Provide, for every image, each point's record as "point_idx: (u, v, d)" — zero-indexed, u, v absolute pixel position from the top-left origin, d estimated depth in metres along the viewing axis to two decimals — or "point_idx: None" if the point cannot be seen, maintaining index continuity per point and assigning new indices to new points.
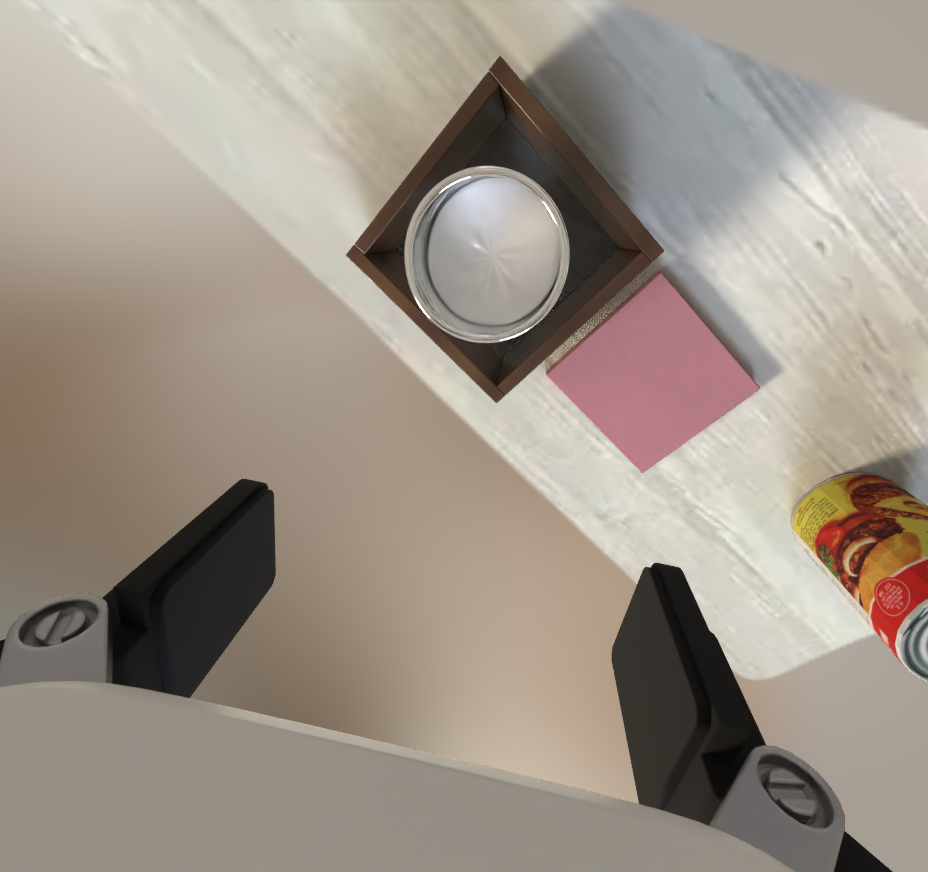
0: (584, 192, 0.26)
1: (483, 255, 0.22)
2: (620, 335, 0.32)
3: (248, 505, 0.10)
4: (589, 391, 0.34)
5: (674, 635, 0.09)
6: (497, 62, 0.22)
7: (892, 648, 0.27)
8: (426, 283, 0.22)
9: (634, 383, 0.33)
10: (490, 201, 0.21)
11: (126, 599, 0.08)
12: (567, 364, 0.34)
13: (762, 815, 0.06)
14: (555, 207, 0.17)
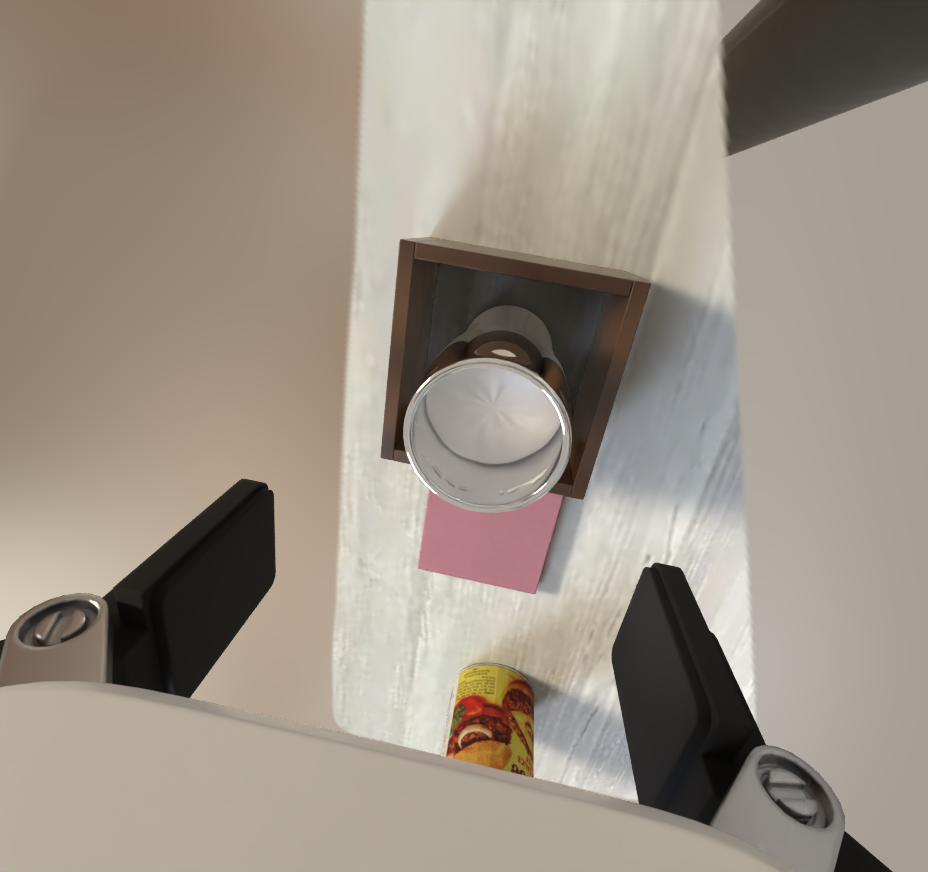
0: (588, 405, 0.27)
1: (489, 399, 0.21)
2: None
3: (248, 505, 0.10)
4: None
5: (674, 635, 0.09)
6: (644, 284, 0.22)
7: None
8: None
9: (477, 518, 0.36)
10: None
11: (126, 599, 0.08)
12: None
13: (762, 815, 0.06)
14: (562, 470, 0.18)
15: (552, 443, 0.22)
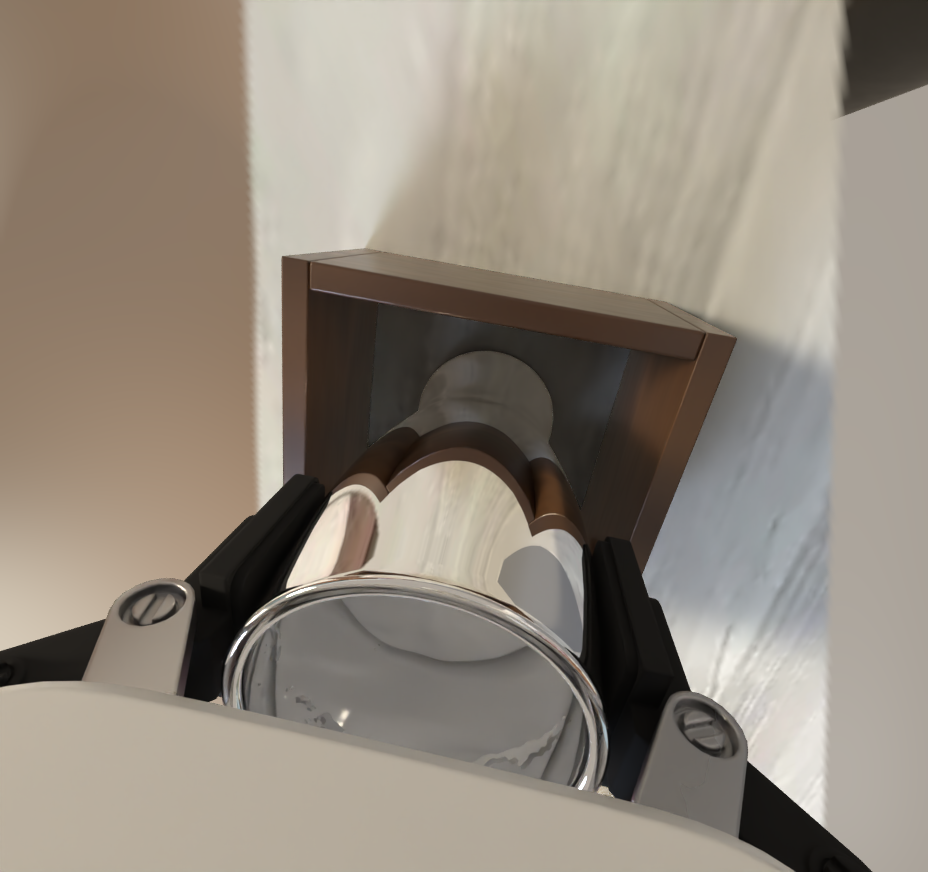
0: (612, 516, 0.17)
1: None
2: None
3: (305, 498, 0.11)
4: None
5: (615, 598, 0.09)
6: (725, 340, 0.12)
7: None
8: None
9: None
10: None
11: (209, 584, 0.08)
12: None
13: (682, 757, 0.07)
14: None
15: None
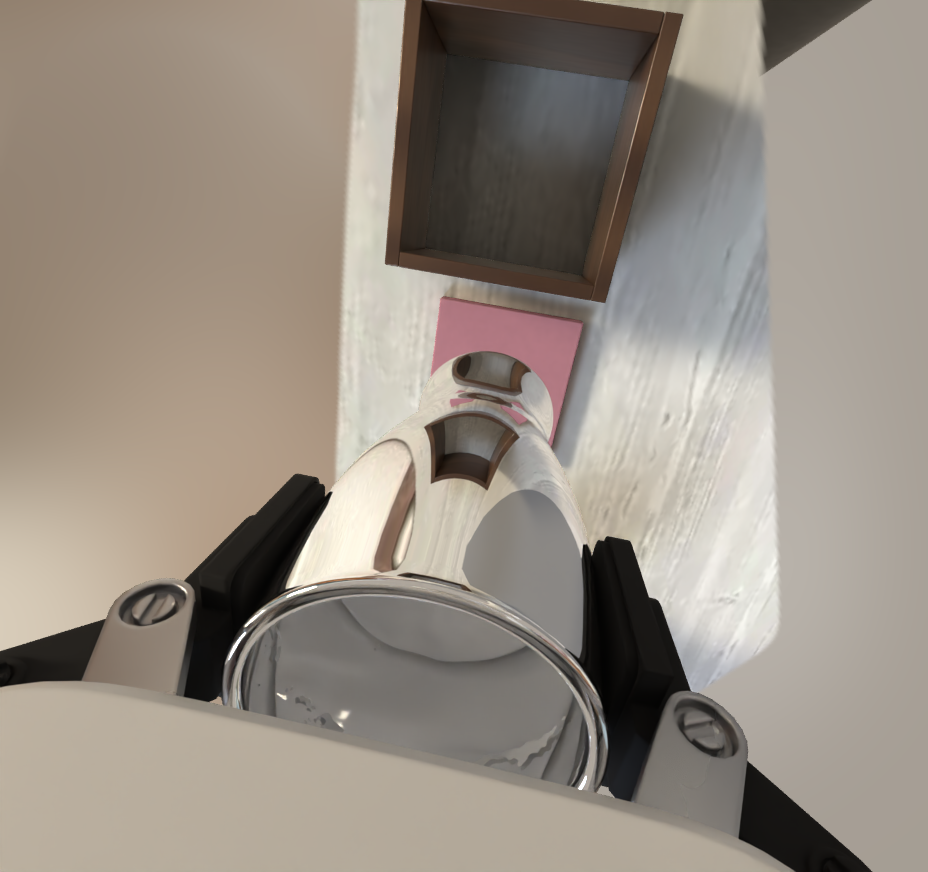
0: (609, 201, 0.25)
1: None
2: (515, 332, 0.33)
3: (305, 498, 0.11)
4: (454, 344, 0.33)
5: (615, 598, 0.09)
6: (676, 15, 0.20)
7: None
8: None
9: None
10: None
11: (209, 583, 0.08)
12: (462, 308, 0.32)
13: (682, 757, 0.07)
14: None
15: None
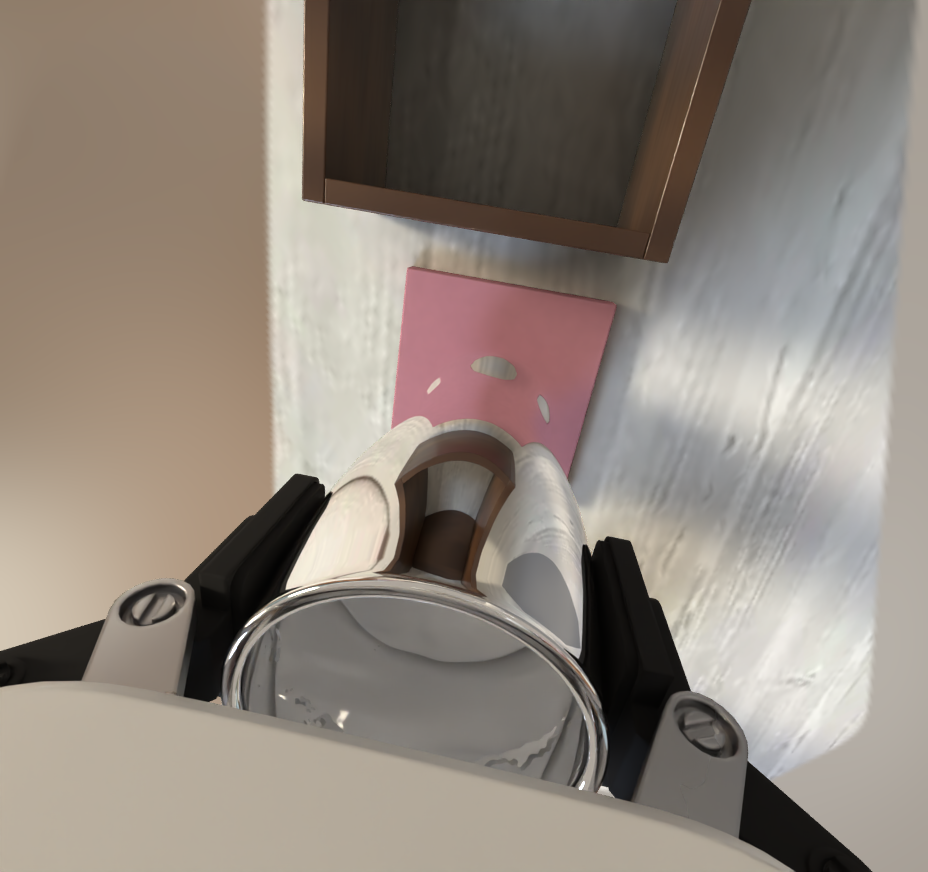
0: (676, 92, 0.15)
1: None
2: (516, 318, 0.22)
3: (305, 498, 0.11)
4: (428, 336, 0.23)
5: (615, 598, 0.09)
6: None
7: None
8: None
9: None
10: None
11: (209, 583, 0.08)
12: (439, 283, 0.22)
13: (682, 757, 0.07)
14: None
15: None
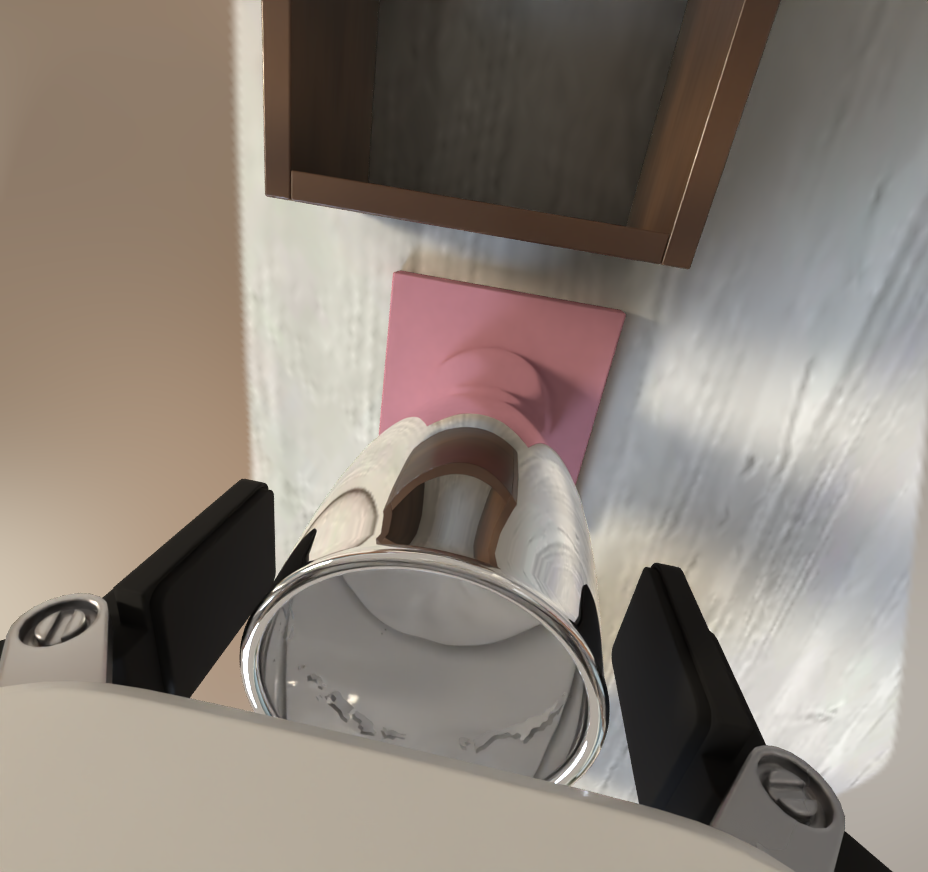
0: (699, 70, 0.13)
1: None
2: (514, 328, 0.20)
3: (248, 505, 0.10)
4: (417, 347, 0.21)
5: (674, 635, 0.09)
6: None
7: None
8: None
9: None
10: None
11: (126, 599, 0.08)
12: (428, 289, 0.20)
13: (762, 815, 0.06)
14: (586, 768, 0.08)
15: None
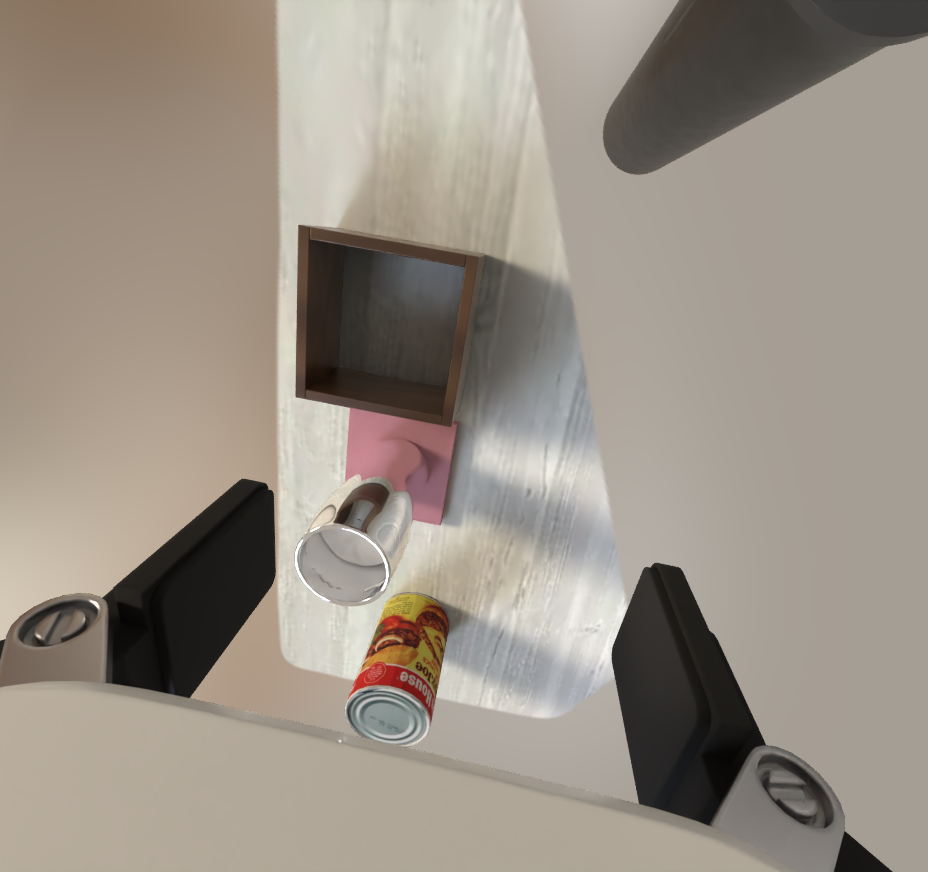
0: None
1: None
2: (407, 430, 0.43)
3: (248, 505, 0.10)
4: (362, 437, 0.44)
5: (674, 635, 0.09)
6: (474, 257, 0.31)
7: (349, 695, 0.42)
8: None
9: None
10: None
11: (126, 599, 0.08)
12: (366, 412, 0.43)
13: (762, 815, 0.06)
14: (387, 584, 0.31)
15: None
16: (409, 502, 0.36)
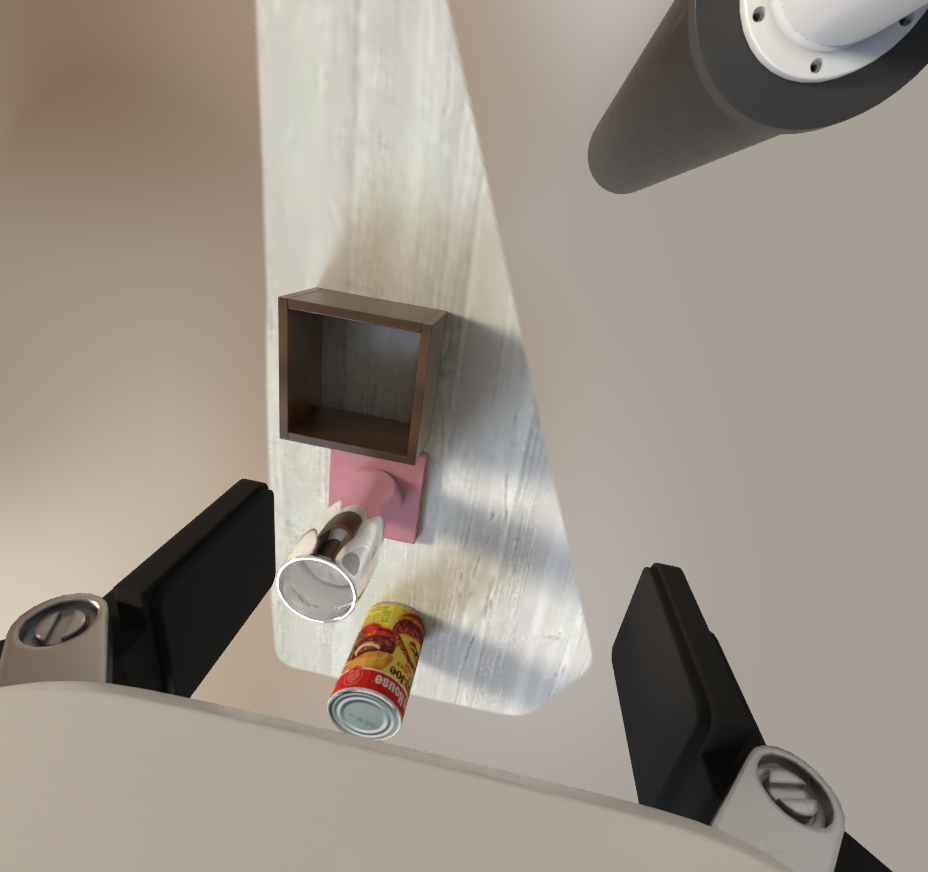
0: None
1: None
2: (382, 461, 0.48)
3: (248, 505, 0.10)
4: (342, 467, 0.49)
5: (674, 635, 0.09)
6: (428, 326, 0.36)
7: (331, 695, 0.48)
8: None
9: None
10: None
11: (126, 599, 0.08)
12: None
13: (762, 815, 0.06)
14: (354, 605, 0.36)
15: None
16: (378, 530, 0.41)
